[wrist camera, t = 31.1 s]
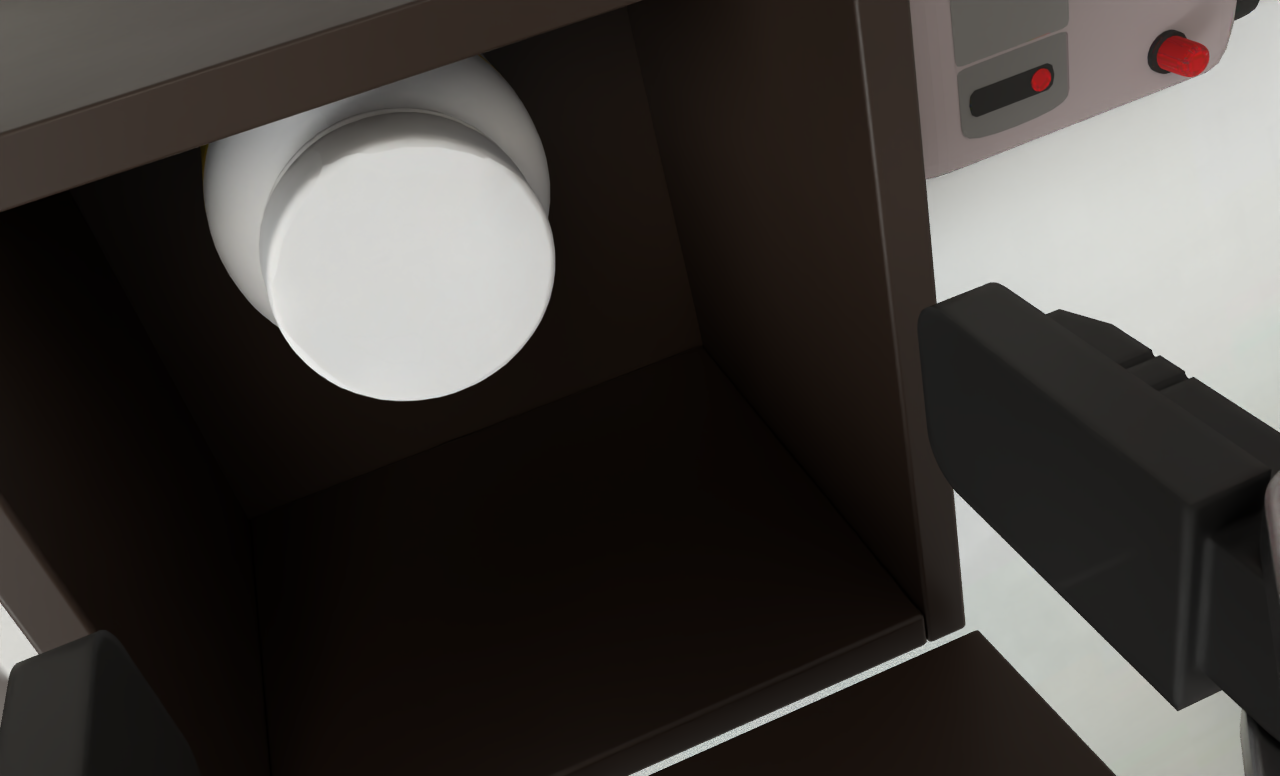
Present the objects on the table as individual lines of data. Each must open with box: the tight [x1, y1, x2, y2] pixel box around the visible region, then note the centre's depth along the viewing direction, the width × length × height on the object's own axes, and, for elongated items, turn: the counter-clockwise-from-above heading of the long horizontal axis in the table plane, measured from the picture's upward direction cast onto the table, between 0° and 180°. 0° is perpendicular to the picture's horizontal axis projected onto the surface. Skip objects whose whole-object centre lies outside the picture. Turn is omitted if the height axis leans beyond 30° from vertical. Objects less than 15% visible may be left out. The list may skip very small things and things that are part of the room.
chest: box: [0, 0, 965, 776], centre depth 21 cm, size 14×14×12 cm
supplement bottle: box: [200, 54, 555, 401], centre depth 20 cm, size 5×5×10 cm
